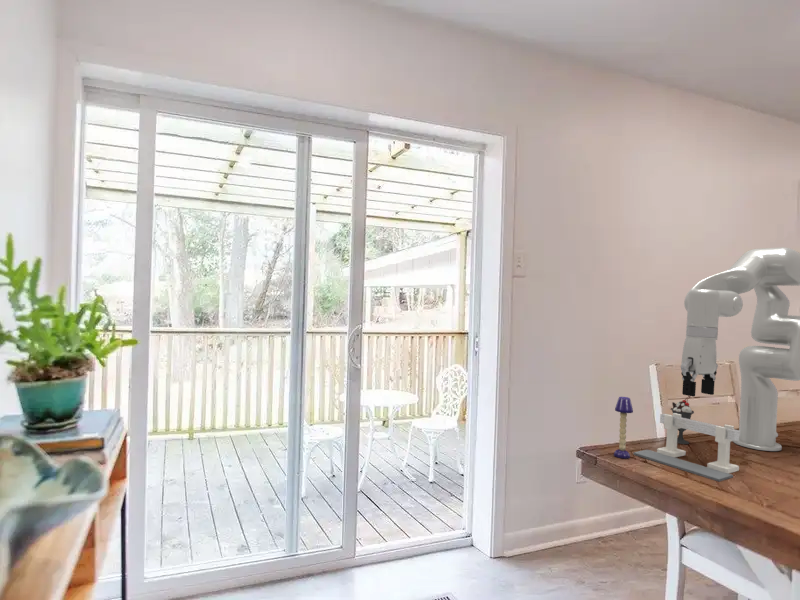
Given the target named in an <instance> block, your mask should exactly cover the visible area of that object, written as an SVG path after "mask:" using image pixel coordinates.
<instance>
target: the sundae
mask: <svg viewBox="0 0 800 600" xmlns="http://www.w3.org/2000/svg"><path fill="white" fill-rule="evenodd" d="M690 398H691V396H687V397H686V398H685V399H682V401H678V402H677V403H676V402H673V401H672V402H671V405H672V407H670V410H671V411H672V414H673V413H677V414H681V417H682V418H687V419H691V417H692V415H693V414H695V410H692V408H691V407H690V403H689V402H688V400H689V399H690ZM686 430H687V429H683V428H679V429H678V435H677V444H680V445H689V444H690V442H689V441H688V440H685V438H684V432H686ZM687 431H688V430H687Z"/></svg>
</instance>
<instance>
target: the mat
mask: <svg viewBox="0 0 800 600" xmlns="http://www.w3.org/2000/svg"><path fill="white" fill-rule="evenodd" d="M632 455H633V456H636V457H640V458H643V459H645V460H649V461H652V462H656V463H657V464H658V463H659V464H662V465H666V466H667V467H671V468H675V469H677V468H678V469H677V470H681V471H684V472H686V473H690V474H694V475H696V476H700V477H703V478H706V479H708V480H713V481H716V482H722V481H726V480H729V479H733V478H734V475H733V474H732V473H729V474H728V473H725V472H722V471H718V470H715V469H712V468H708V467H707V466H704V465H701V464H698V463H694V462H691V461H688V460H684V459H681V458H678V457H676V458H675V457H671V456H668V455H665V454H661V453H658V452H657V451H654V450H650V449H644V450H643V449H642V450H639V451H634V452H633V453H632Z"/></svg>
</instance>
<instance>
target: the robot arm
mask: <svg viewBox="0 0 800 600" xmlns="http://www.w3.org/2000/svg"><path fill="white" fill-rule="evenodd" d="M779 286H781V287H782V286H787V287H788V286H791V287H792V286H798V287H799V286H800V252H798V250H796V249H793V248H789V247H766V248H754V249H750V250H748V251H746V252H744V253H743V254H742V255H741V256H740V257H739V258H738V259H737V260H736V261H735V262H734V263H733V264H732V265H731V266H729V268H728V269H726V270H724V271H721V272H718V273H715V274H713V275H710V276H708V277H706V278H704V279H701V280H700V281H698V282H697V283H695V284H694V285H693V286H692V287H691V289H689V291H688V292H687V294H686V295H685V297H684V303H683V305H684V308H685V310H686V312H687V313H686V329H685V330H686V331H685V339H684V343H683V348H682V354H681V364H680V369H681V370H680V371H681V376H682V378H681V379H682V390H681V392H682V395H683V396H687V397H688V396H690V397H695V396H696V387H697V382H696V381H695V380H696V378H697V377H698V375H700V376H701V375H702V378H701V387H700V393H701V394H705V395H710V396H711V395H712V396H713V395H714V394H715V381H716V375H717V371H718V368H719V364H718V363H717V341H718V335H719V334H718V332H719V317H720V318H730V317H734V316H737V315H738V314H739V313H740V312H741V311H742V309H743V305H744V304H743V298H742V297H741V294H745V293H748V292H751V291H752V290H753V289H754V290H753V291H754V293H755V296H756V306H755V311H754V315H753V319H752V324H751V331H750V333H751V334H750V335H751V338H752V340H753V341H755V342H757V343H759V344H768V345H775V346H784V347H785V346H787V347H789V348H784V347H775V346H765V345H749V346H746V347H744V348H742V349H741V350H740V351H739V354H738V365H739V369H740V370H739V371H740V382H741V383H740V401H739V402H740V405H739V421H738V422H739V423H738V424H739V428H738V430H740V433H739V440H737V441H732V442H733V443H734V444H735V445H738V446H741V447H745V448H748V449H753V450H758V451H765V452H779V451H782V448H783V447H782V445H781V444H780V443H779V442H778V443H777V442H776V441H777V438H778V436H779V432H777V417H778V416H777V415H778V401H779V400H778V399H779V397H778V396H779V393H778V392H779V391H778V389H777V387H776V385H775V384H774V383H773V381H772V380H771V379H777V380H785V381H793V382H794V381H795V382H796V381H800V315H793V314H792V315H791V314H790V315H789V309H790V304H791V302H790V300H789V299H790V298H788V296H787V295H786V294H785V292H784V291H782V289H781V288H780V287H779Z"/></svg>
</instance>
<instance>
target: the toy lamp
mask: <svg viewBox="0 0 800 600" xmlns="http://www.w3.org/2000/svg"><path fill="white" fill-rule="evenodd" d="M614 408H615V409H614V410H615V411H616V412H618V413H619V422H620V423H619V430H618V431H619V435H618V438H619V440H618V442H619V445H618V446H619V447H618V448H619V449H618V448H617V449H616V450H615V451H614V453H613V456H614V457H616V458H618V459H630V458H631V455H630V453H629V452H628V450H626V449H627V447H626V443H627V441H626V439H627V435H626V434H627V429H626V428H627V421H628V419H627V416H628V414H633V413H634V410H633V405H632V401H631V398H630V397H628V396H618V399H617V402H616V405H615V406H614Z"/></svg>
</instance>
